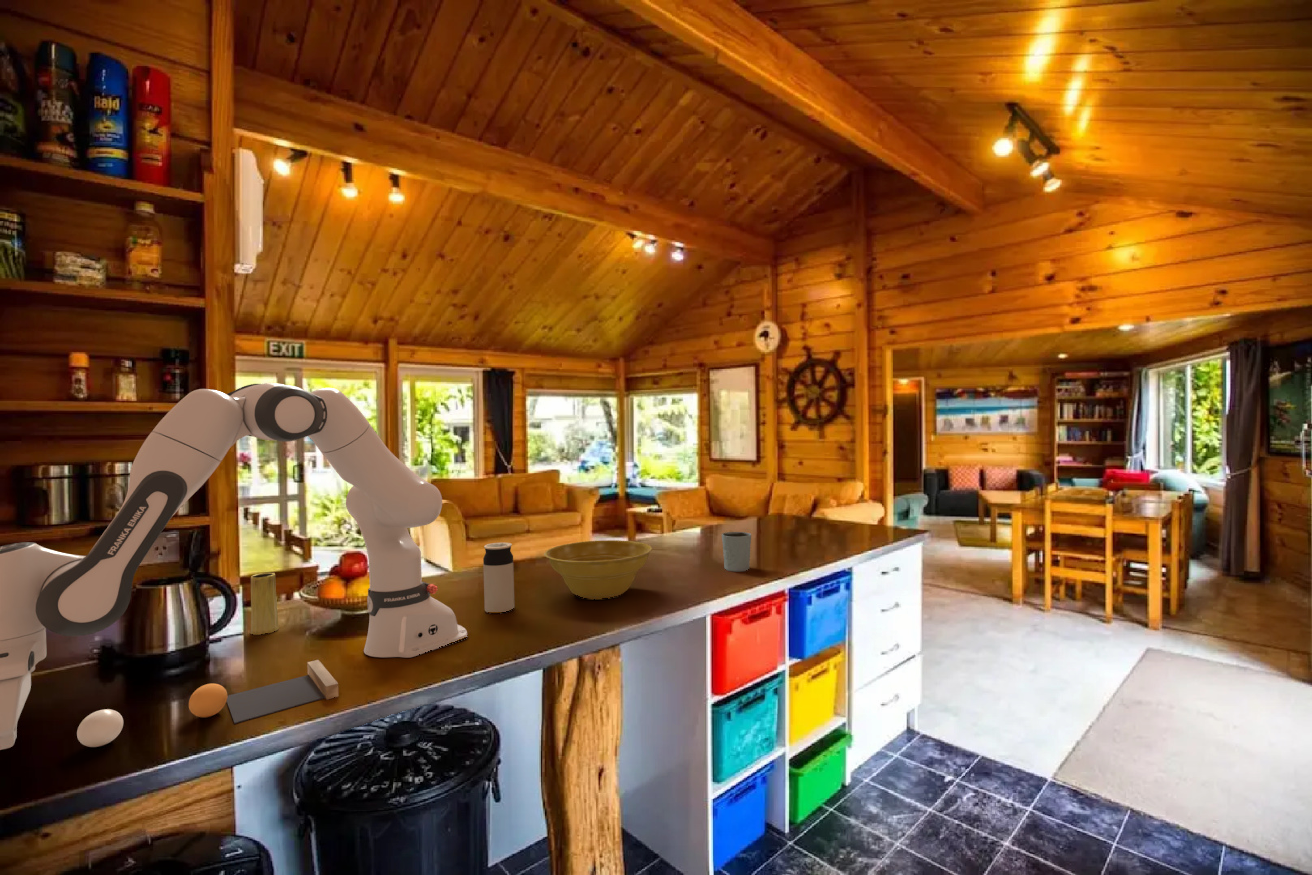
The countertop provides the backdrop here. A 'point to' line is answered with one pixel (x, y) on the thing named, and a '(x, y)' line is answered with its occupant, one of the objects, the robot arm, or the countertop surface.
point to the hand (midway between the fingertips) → (6, 745)
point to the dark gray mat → (273, 698)
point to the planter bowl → (598, 566)
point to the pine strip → (323, 679)
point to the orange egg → (208, 700)
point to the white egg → (100, 728)
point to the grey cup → (736, 551)
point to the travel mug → (498, 577)
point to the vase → (263, 604)
